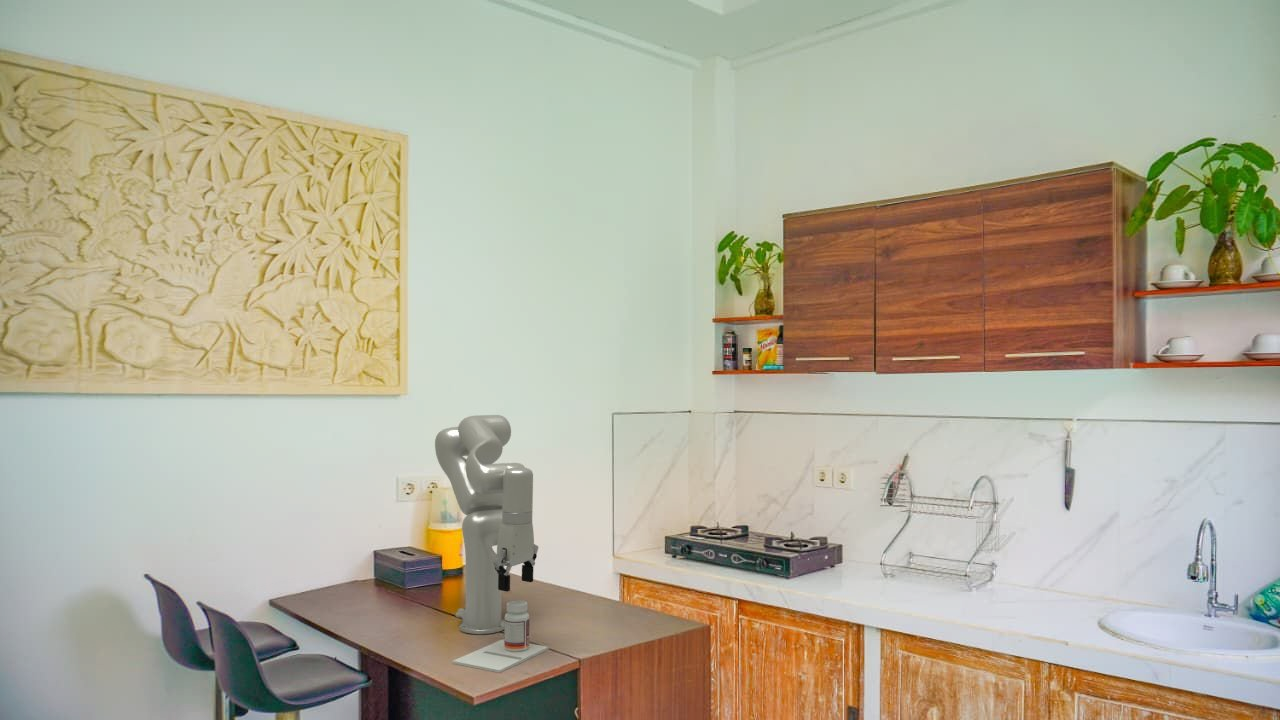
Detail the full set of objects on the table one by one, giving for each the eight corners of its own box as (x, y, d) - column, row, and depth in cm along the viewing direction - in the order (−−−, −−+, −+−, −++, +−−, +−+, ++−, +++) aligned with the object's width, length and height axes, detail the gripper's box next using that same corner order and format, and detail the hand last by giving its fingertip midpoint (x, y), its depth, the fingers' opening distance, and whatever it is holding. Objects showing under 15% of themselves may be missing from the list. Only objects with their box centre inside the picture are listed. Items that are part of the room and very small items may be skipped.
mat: (452, 663, 217) (452, 660, 217) (503, 641, 234) (503, 638, 234) (499, 672, 210) (499, 669, 210) (548, 649, 228) (548, 646, 228)
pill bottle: (518, 643, 230) (518, 598, 231) (534, 648, 226) (534, 602, 226) (499, 648, 226) (499, 602, 226) (515, 653, 222) (515, 607, 222)
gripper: (525, 510, 236) (524, 576, 236) (483, 521, 221) (482, 591, 221) (549, 513, 232) (548, 580, 233) (508, 525, 217) (507, 596, 218)
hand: (515, 585), depth 227 cm, fingers open, 9 cm apart
